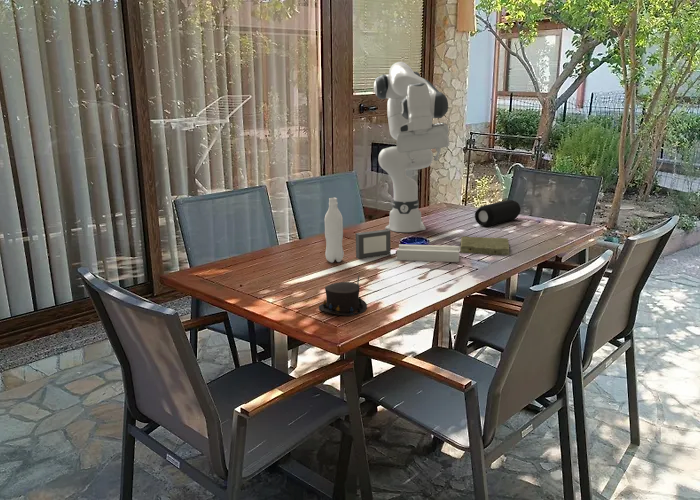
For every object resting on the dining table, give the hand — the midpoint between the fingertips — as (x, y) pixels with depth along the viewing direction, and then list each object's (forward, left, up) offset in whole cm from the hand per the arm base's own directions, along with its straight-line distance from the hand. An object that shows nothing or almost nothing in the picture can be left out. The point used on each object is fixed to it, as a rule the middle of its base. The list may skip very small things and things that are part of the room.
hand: (424, 161), depth 240 cm
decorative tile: (-14, +24, -38) cm, 47 cm away
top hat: (+62, -20, -38) cm, 76 cm away
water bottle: (+12, -34, -38) cm, 52 cm away
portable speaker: (-63, +31, -38) cm, 80 cm away
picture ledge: (+3, +2, -38) cm, 38 cm away
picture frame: (+3, -20, -38) cm, 43 cm away
